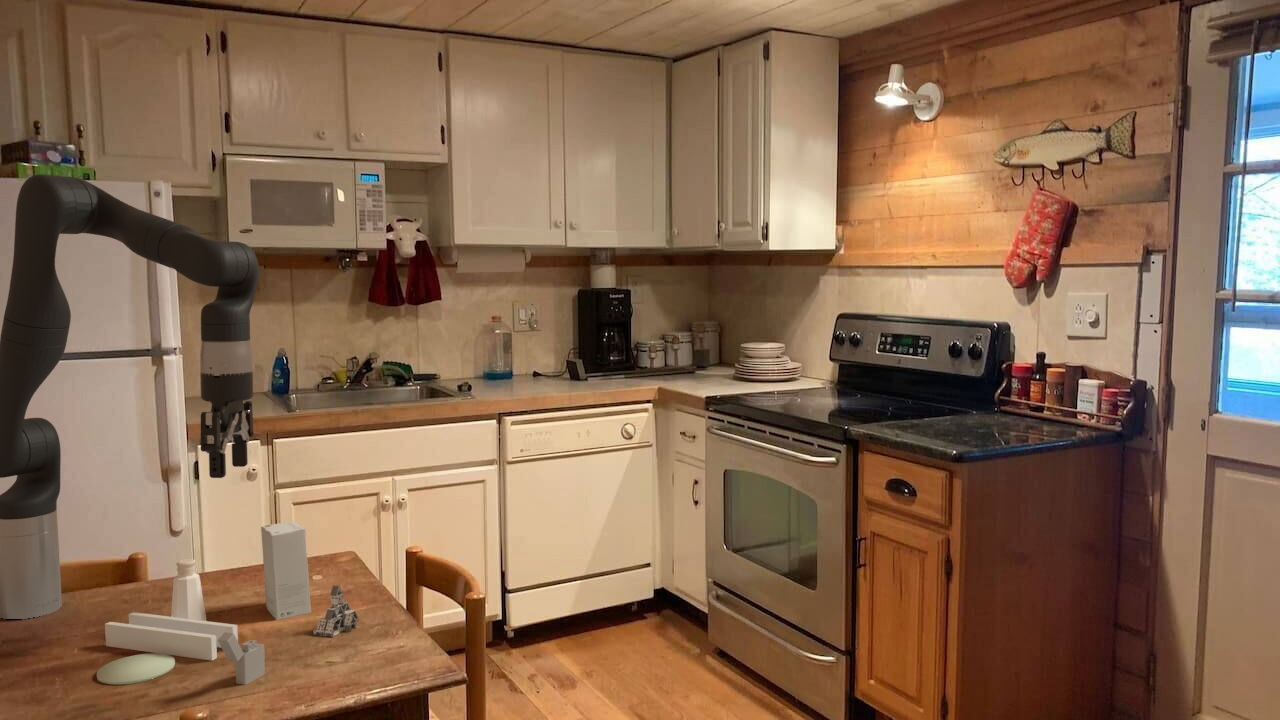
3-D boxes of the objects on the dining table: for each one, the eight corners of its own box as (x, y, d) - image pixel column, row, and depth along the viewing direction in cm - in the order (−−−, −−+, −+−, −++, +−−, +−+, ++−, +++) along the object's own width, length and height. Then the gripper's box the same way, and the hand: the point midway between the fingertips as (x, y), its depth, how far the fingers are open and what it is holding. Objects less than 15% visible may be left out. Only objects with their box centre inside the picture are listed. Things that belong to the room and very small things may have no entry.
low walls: (105, 645, 146) (104, 623, 145) (134, 633, 151) (133, 612, 151) (212, 660, 140) (211, 637, 140) (238, 647, 145) (237, 624, 145)
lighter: (256, 671, 136) (254, 617, 135) (266, 673, 135) (264, 619, 135) (219, 691, 129) (217, 635, 128) (229, 693, 128) (227, 636, 128)
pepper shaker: (214, 622, 156) (211, 557, 155) (188, 634, 150) (186, 566, 150) (188, 619, 157) (185, 554, 156) (162, 630, 152) (159, 563, 151)
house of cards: (352, 648, 145) (351, 600, 145) (305, 642, 148) (303, 594, 147) (385, 628, 154) (384, 582, 153) (340, 622, 156) (339, 577, 156)
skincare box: (311, 615, 159) (308, 529, 158) (274, 622, 156) (271, 534, 154) (299, 601, 166) (296, 518, 165) (263, 608, 162) (260, 523, 161)
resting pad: (80, 679, 133) (79, 676, 133) (136, 653, 143) (136, 650, 143) (136, 688, 130) (136, 684, 130) (190, 660, 140) (190, 657, 140)
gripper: (221, 365, 154) (223, 462, 155) (181, 373, 140) (184, 481, 141) (267, 365, 154) (269, 463, 156) (232, 374, 140) (234, 481, 141)
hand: (229, 471), depth 148 cm, fingers open, 8 cm apart
